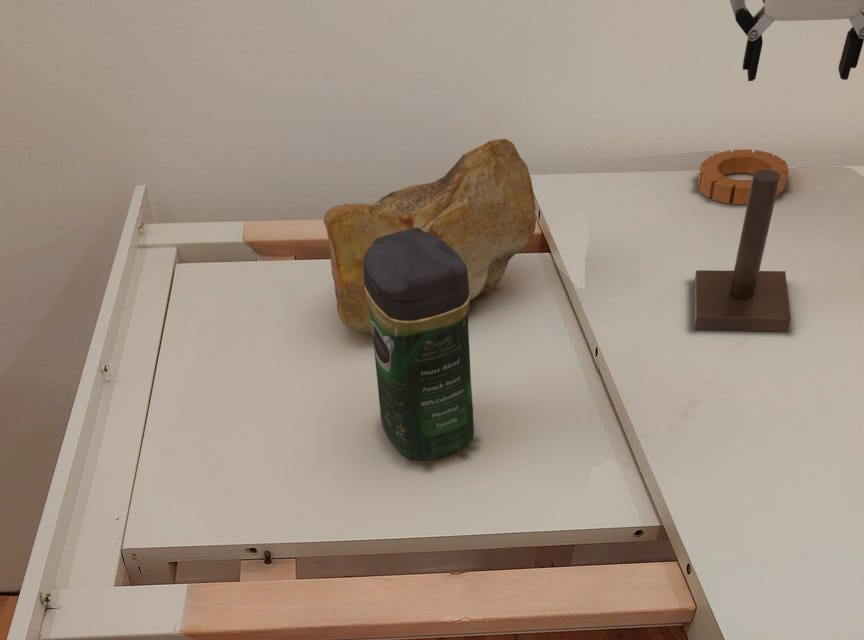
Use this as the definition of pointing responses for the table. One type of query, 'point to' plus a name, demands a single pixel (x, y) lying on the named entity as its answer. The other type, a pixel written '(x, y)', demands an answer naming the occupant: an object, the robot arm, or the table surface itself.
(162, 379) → the table surface
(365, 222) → the rough brown rock
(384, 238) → the coffee jar
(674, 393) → the table surface
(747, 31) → the robot arm
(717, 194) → the ring
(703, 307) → the post stand
